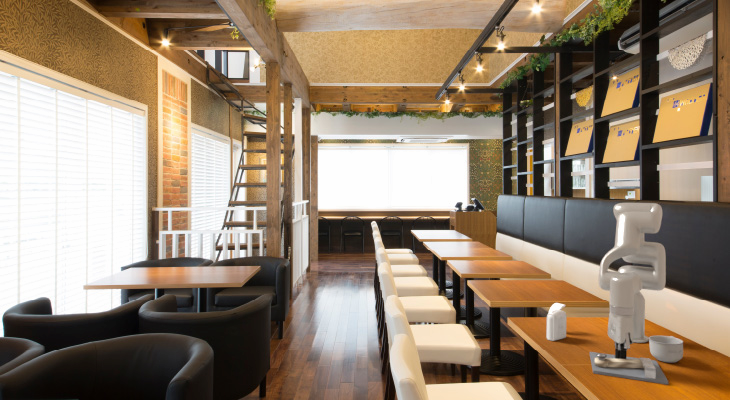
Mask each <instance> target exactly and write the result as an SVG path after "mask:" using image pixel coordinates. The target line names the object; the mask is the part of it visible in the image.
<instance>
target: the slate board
mask: <svg viewBox="0 0 730 400" xmlns="http://www.w3.org/2000/svg"><path fill="white" fill-rule="evenodd" d="M597 353H598V352H595V351H589V358H590V362H591V369H592V373H593V374H596V375H602V376H607V377H609V376H610V377H614V378H615V377H616V378H623V379H629V380H635V381H641V382H648V383H655V384H661V385H667V386H668V385H669V380H668V379H667V377H666V375H665V373H664V372H663V370H662V368H661V367H660V364H659V363H658V360H655V359H654V360H653V359H650V360H651V361H652V363H653V365H654V366H655V368H656V379H650V378H645V377H644V368H620V367H606V368H603V367H598V366H596V365H595V358H596V357H598V356H597ZM605 354H606V355H607V357H606V358H615V354H611V353H610V354H609V353H605ZM626 359H640V357H632V356H626Z"/></svg>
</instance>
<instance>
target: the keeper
mask: <svg viewBox="0 0 730 400" xmlns="http://www.w3.org/2000/svg"><path fill="white" fill-rule="evenodd" d="M639 358H640V361H641V363H642V365H643V367H644V377H645V378H650V379H656V368H655V366H654V365H653V363H652V361H651V360H652V359H651V358H647V357H639Z"/></svg>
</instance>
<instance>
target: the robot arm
mask: <svg viewBox="0 0 730 400" xmlns="http://www.w3.org/2000/svg"><path fill="white" fill-rule="evenodd" d="M662 208H663V207H662V206H661V205H660V204H658V203H655V202H618V203H615V204H614V206H613V216H614V217H615V220H616V228H615V237H614V246H613V247H612V248H611V249H610V250H608V251H607V252H606V253H605V255H604V256H603V257H602V259H601V261H600V264H599V269H598V270H599V272H598V286H599V288H600V289H601V290H604V291H608V292H609V316H608V323H607V335H608V337H609V339H612V340H613V342H614V349H615V351H614V352H615V353H614V355H615V359H626V357H627V355H628V354H627V352H628V350H630V349H631V345H633V344H634V343H639V344H641V343H642V344H644V343H647V342H649V336H647V335H645V332H646V331H645V325H646V323H645V321H646V318H645V317H646V313H645V312H646V299H645V296H644V295H643V293H642V292H641V290H647V291H657V292H659V291H662V290H664V289H665V286H666V283H667V282H666V278H667V277H666V275H667V271H666V269H667V265H666V263H667V262H666V260H667V257H666V249H665V248H666V247H664V245H663V244H662V243H659V242H655V241H653V242H652V241H645V234H657V233H659V231H660V228H661V225H662V218H663V209H662ZM621 258H622V260H623V261H624V262H626V263H630V264H641V265H649V266H652V267H649V266H639V265H622V266H621V267H619V268H618V270H617V271H610V270H609V267H610V265H611V264H612V263H613V262H615V261H617V260H619V259H621Z"/></svg>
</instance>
